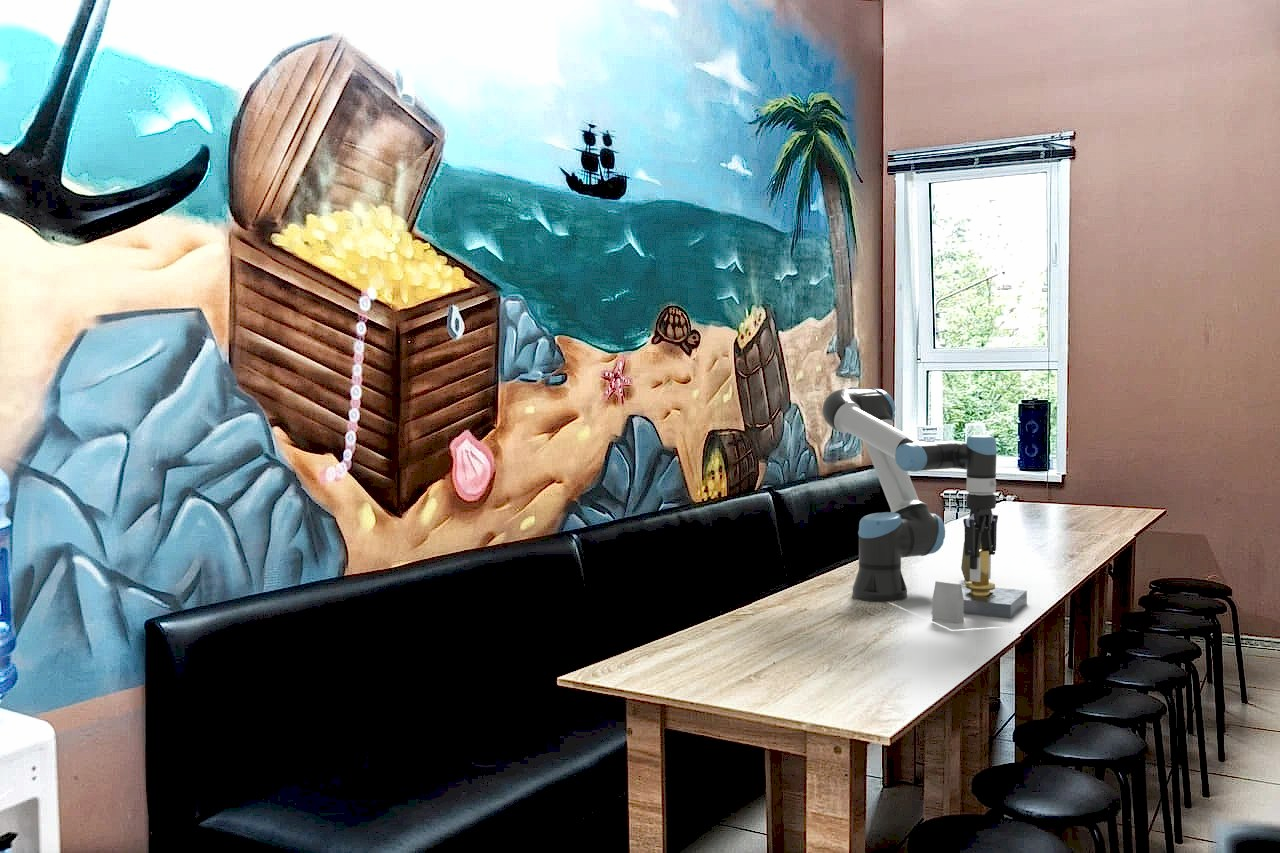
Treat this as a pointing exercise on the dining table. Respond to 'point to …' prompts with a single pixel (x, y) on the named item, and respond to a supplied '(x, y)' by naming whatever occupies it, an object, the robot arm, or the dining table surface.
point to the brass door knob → (982, 577)
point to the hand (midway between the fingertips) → (980, 579)
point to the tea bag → (948, 602)
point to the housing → (995, 602)
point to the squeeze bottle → (966, 564)
